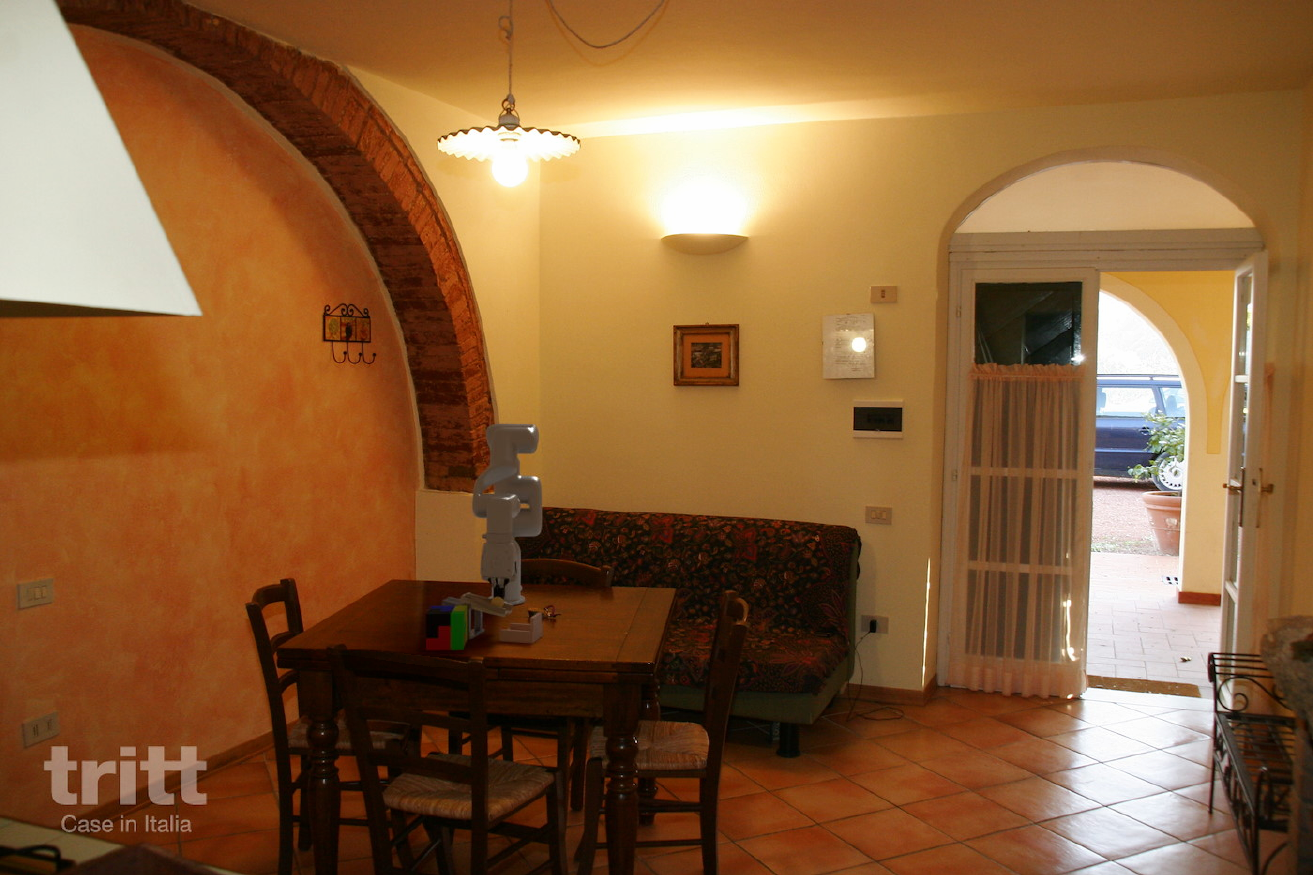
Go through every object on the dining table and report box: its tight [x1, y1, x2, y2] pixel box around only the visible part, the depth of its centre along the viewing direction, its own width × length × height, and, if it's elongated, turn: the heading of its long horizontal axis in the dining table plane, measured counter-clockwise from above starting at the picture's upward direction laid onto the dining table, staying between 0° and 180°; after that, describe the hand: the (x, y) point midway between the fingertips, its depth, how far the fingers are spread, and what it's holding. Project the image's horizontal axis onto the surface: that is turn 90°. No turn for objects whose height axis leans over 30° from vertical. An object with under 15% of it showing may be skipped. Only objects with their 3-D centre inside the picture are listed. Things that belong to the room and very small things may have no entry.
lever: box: [441, 591, 514, 618], centre depth 275 cm, size 12×20×7 cm, turn 77°
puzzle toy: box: [425, 605, 468, 651], centre depth 262 cm, size 10×10×10 cm
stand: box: [463, 603, 486, 640], centre depth 273 cm, size 10×3×10 cm, turn 167°
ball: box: [491, 597, 504, 607], centre depth 271 cm, size 4×4×4 cm
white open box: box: [499, 612, 544, 645], centre depth 269 cm, size 9×10×7 cm
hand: (499, 600), depth 277 cm, fingers closed
